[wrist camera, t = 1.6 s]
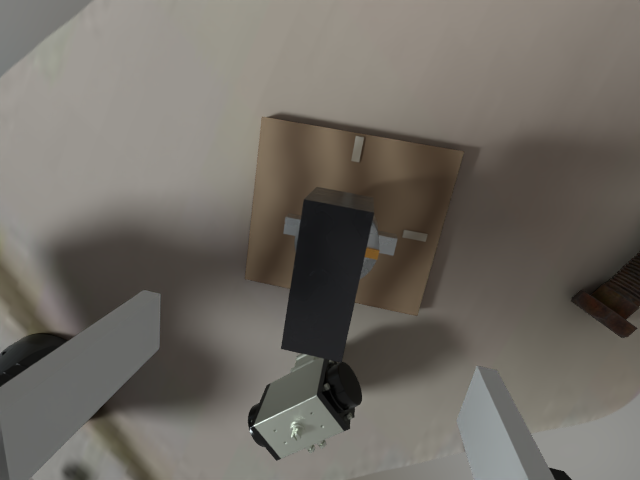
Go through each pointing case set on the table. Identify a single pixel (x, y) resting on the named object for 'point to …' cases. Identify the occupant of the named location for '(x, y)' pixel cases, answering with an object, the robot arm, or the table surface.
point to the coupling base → (358, 178)
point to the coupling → (329, 268)
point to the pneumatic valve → (305, 406)
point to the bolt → (615, 299)
